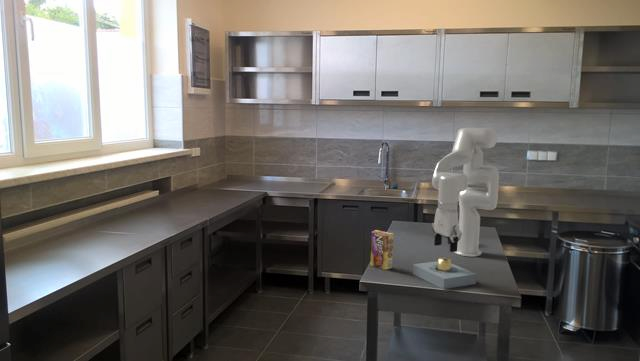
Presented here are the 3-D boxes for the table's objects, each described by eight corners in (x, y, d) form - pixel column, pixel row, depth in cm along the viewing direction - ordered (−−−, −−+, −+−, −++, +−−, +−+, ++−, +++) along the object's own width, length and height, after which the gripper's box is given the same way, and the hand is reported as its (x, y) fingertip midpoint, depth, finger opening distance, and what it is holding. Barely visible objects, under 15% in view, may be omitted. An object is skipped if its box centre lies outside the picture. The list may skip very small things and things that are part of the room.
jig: (412, 273, 218) (412, 264, 218) (443, 269, 225) (444, 260, 225) (443, 289, 201) (443, 278, 200) (476, 283, 207) (476, 274, 207)
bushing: (434, 277, 214) (435, 258, 213) (444, 276, 216) (445, 257, 215) (442, 281, 210) (443, 261, 209) (452, 279, 212) (453, 260, 211)
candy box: (392, 268, 226) (394, 233, 223) (386, 270, 222) (388, 234, 220) (376, 263, 232) (377, 229, 229) (370, 265, 228) (371, 231, 226)
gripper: (426, 203, 215) (424, 243, 218) (454, 211, 200) (452, 255, 202) (441, 201, 218) (439, 241, 221) (469, 210, 203) (467, 253, 206)
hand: (445, 248), depth 212 cm, fingers open, 9 cm apart
